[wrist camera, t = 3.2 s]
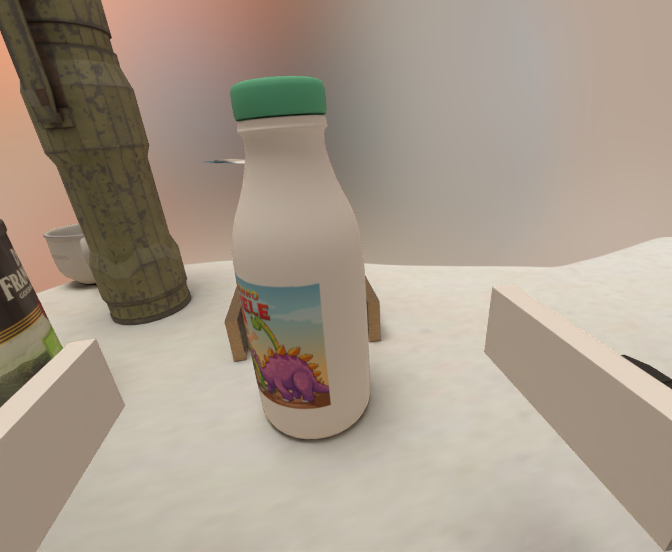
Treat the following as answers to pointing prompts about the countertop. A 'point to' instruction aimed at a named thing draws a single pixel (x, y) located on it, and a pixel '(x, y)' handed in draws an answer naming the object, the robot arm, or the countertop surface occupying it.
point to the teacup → (70, 252)
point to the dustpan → (239, 334)
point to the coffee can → (20, 325)
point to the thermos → (97, 151)
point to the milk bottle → (298, 262)
